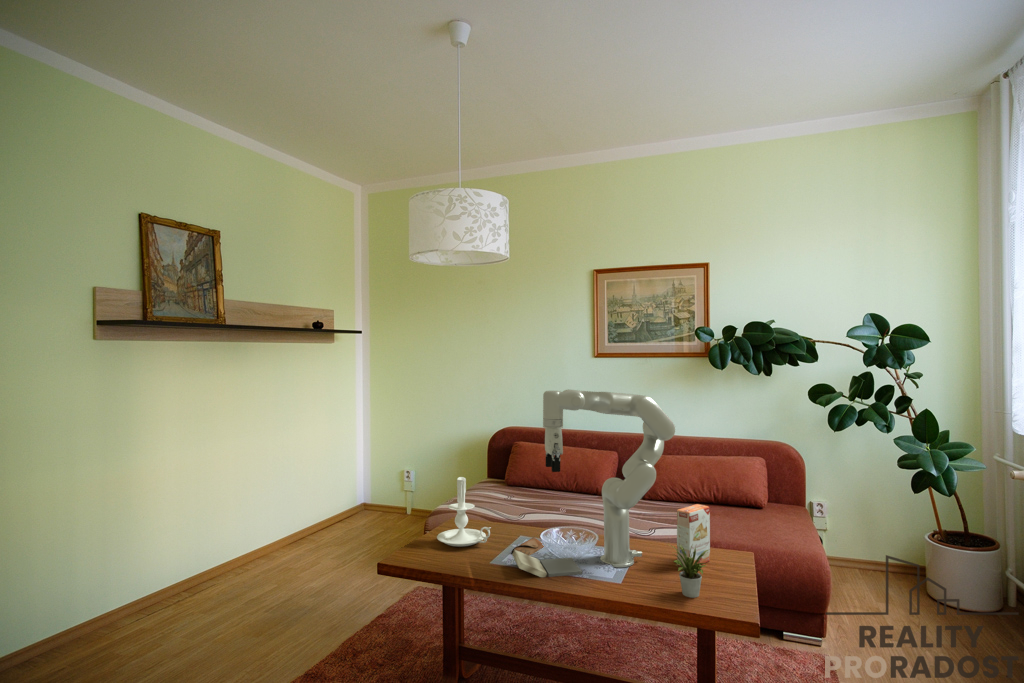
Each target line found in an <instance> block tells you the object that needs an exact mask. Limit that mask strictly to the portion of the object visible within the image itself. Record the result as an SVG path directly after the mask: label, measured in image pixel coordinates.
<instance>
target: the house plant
mask: <svg viewBox="0 0 1024 683" xmlns="http://www.w3.org/2000/svg"><path fill="white" fill-rule="evenodd" d="M666 545H669V546H670V547H672V548H673V549H675V551H676V552H675V551H674V553H676V554H673V556H675V557H676V559H674V560H673V562H674V563H675V564H676V565H677V564H678V565H680V566H678V565H677V567H678V569H677V572H679V571H681V572H679V580H680V587H681V592H682V595H683V596H685V597H687V598H698V597H699V596H700V591H701V585H702V584H701V583H702V578H703V575H704V570H703V569H702V568H703V567H707V562H706V563H698V561H699V560H700V558H701V557H702V556H703V555H704V554H705V553H706V552H707V551H708V550H706V551H704V552H703V553H702V554H701V555H700V556H699V557H698V558H697V560H696V561H695V563H694V559H695V555H696V548H695V549H694V552H693V558H691V556H692V554H691V556H690V555H689V557H687V555H686V553H685V550H684V548H683V546H682V545H681V546H679V547H680V549H681V551H682V553H683V555H684V557H685V560H684V558H683V557H682V555H680V554H679V552H678V551H677V547H675V546H673V545H671V544H667V543H666ZM692 545H693V544H692ZM691 548H692V546H691ZM677 552H678V553H677ZM690 553H691V549H690ZM677 554H679V555H680V557H681V558H682V560H683V562H684V564H685V566H686V567H685V566H684V565H683V563H682V562H681V560H680V559H679V557H678V556H677ZM677 558H678V559H679V560H680V561H678V560H677ZM685 561H686V562H685ZM673 562H672V563H673ZM697 563H698V564H697ZM693 564H694V565H693ZM700 573H701V574H700Z"/></svg>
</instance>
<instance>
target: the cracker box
mask: <svg viewBox="0 0 1024 683" xmlns="http://www.w3.org/2000/svg"><path fill="white" fill-rule="evenodd" d="M710 509H711V508H710V506H708V505H704V504H700V503H696V504H693V505H689V506H686V507H682V508H679V509H677V510H676V549H677V551H678V552H679V554H680V555H682V557H683V558H684V560H685V557H684V555H683V553H682V551H681V549H680V547H679V546H681V545H682V546H683V548H684V550H685V553H686V555H687V557H689V555H690V556H691V554H692V556H691V558H693V552H694V549H695V548H696V555H695V559H694V563H695V561H696V560H697V558H698V557H699V556H700V555H701V554H702V553H703V552H704V551H706V550H708V551H707V552H706V553H705V554H704V555H703V556H702V557H701V558H700V560H699V561H698V563H706V564H707V563H708V562H710V561H711V531H710V530H711V523H710V522H711V518H710V517H711V514H710V513H711V510H710ZM692 544H693V545H692ZM691 546H692V548H691ZM690 549H691V553H690ZM677 551H676V552H677ZM678 552H677V553H678ZM677 553H676V560H678V561H680V560H681V562H682V563H683V565H684V566H685V564H684V562H683V560H682V558H681V557H680V555H679V554H677ZM677 556H678V557H679V559H680V560H679V559H678V558H677ZM685 562H686V561H685ZM698 563H697V564H698ZM693 565H694V564H693ZM676 566H677V567H678V566H679V567H681V566H680V565H678V564H677V563H676ZM685 567H686V566H685Z"/></svg>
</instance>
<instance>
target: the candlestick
mask: <svg viewBox="0 0 1024 683" xmlns="http://www.w3.org/2000/svg"><path fill="white" fill-rule="evenodd" d="M466 483H467V478H466V477H464V476H459V477H457V478H456V488H457V489H456V492H457V495H456V497H457V501H456V502H457V503H451V504H448V505H447V508H448V509H450V510H454V511H456V515H455V517H454V523H455V526H456V527H457V528H454V529H448V530H445V531H442V532H440V533H438V535H436V539H437V540H438V541H439V542H441V543H444V544H445V545H447V546H451V547H459V548H460V547H462V548H464V547H470V546H473V545H475V544H478V543H483V544H485V543H487V541H488V539H489V537H490V536H491V530H490V529H492V527H490V526H489V527H487V526H484V527H481V528H480V530H479V529H475V528H474V529H473V528H466V526H467V525H468V523H469V518H468V516H467V513H466V512H467V511H468V510H471V509H473V508H475V506H476V505H475V504H473V503H470V502H466V493H467V484H466ZM483 530H486V531H487V534H486V533H485V532H484V531H483Z"/></svg>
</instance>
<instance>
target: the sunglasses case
mask: <svg viewBox="0 0 1024 683" xmlns="http://www.w3.org/2000/svg"><path fill="white" fill-rule="evenodd" d="M541 542H542V541H540V540H539V539H537V538H535V536H532V537H531V538H530V539H527V540H526V541H524V542H522V543H521V544H519V545H517V546H515V547H514V548H513V549H511V554H513V552H514V550H517V551H519V552H522V553H524V554H527V555H529V556H532V555H533V554H535V553H537V552H538V551H540V550H543V549H542V548H543V547H544V546H543V545H542V543H543V542H542V543H541Z"/></svg>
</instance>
